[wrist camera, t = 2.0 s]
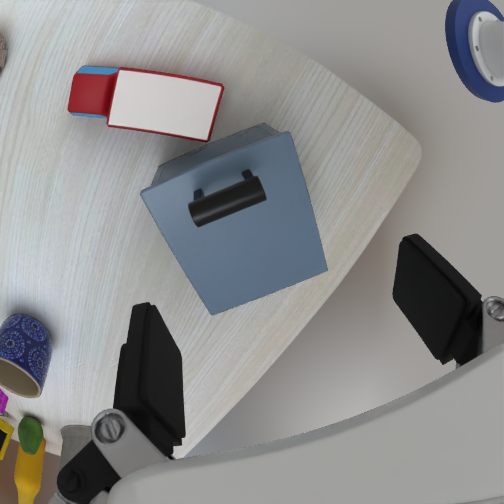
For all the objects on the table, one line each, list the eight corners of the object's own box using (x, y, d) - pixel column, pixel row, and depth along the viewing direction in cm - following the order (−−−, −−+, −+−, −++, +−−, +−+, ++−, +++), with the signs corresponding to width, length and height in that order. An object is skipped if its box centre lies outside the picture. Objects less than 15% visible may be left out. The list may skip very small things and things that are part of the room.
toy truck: (86, 65, 24) (62, 64, 18) (219, 84, 28) (225, 84, 22) (77, 113, 26) (52, 122, 21) (206, 132, 30) (209, 143, 25)
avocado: (45, 427, 60) (40, 461, 50) (22, 418, 56) (15, 451, 46) (45, 418, 57) (38, 455, 47) (20, 407, 53) (12, 444, 43)
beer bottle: (36, 442, 66) (28, 512, 42) (17, 429, 61) (6, 502, 37) (51, 442, 66) (44, 517, 42) (31, 429, 61) (21, 508, 36)
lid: (141, 190, 23) (128, 219, 18) (287, 130, 22) (311, 144, 18) (211, 310, 31) (215, 350, 26) (325, 266, 30) (346, 300, 26)
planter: (42, 356, 44) (28, 404, 35) (-1, 322, 38) (-23, 368, 29) (68, 335, 42) (52, 389, 33) (19, 295, 36) (-7, 346, 27)
